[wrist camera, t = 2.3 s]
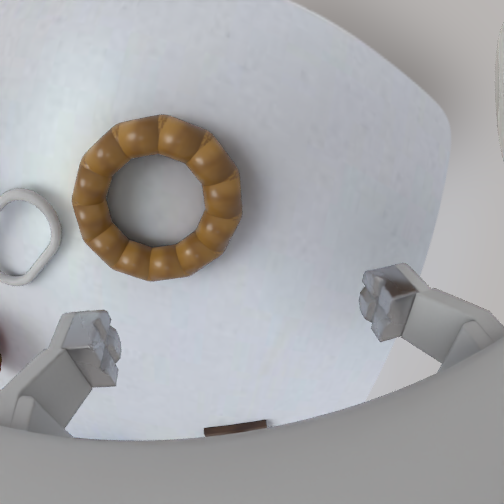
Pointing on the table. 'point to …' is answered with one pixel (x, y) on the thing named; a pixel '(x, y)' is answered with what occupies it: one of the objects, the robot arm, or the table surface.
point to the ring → (178, 148)
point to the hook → (54, 226)
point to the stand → (235, 428)
